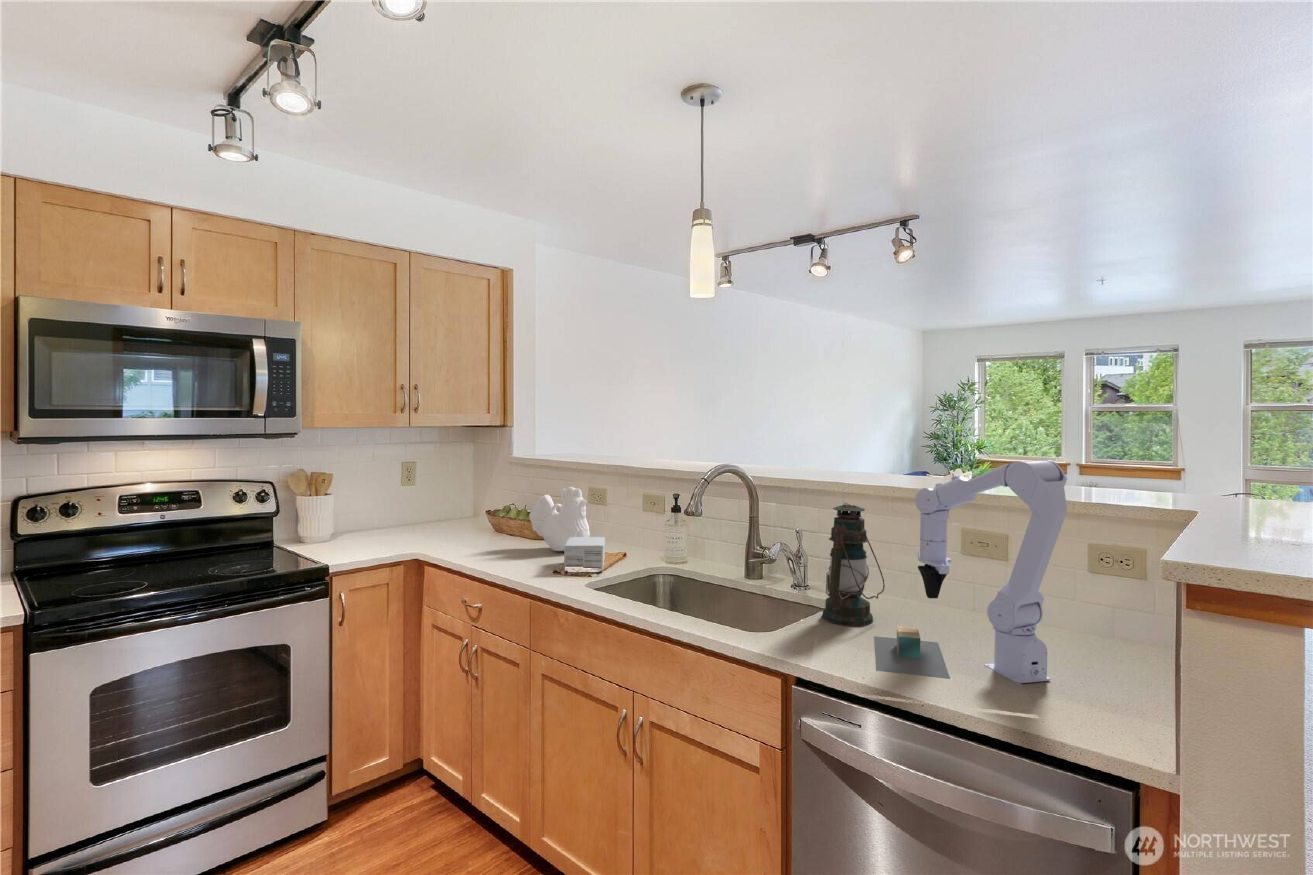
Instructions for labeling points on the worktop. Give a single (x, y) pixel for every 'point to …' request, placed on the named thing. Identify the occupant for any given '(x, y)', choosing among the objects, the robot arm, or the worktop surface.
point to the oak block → (908, 642)
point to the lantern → (848, 570)
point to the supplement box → (584, 552)
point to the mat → (910, 659)
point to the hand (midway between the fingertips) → (932, 597)
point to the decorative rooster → (560, 518)
